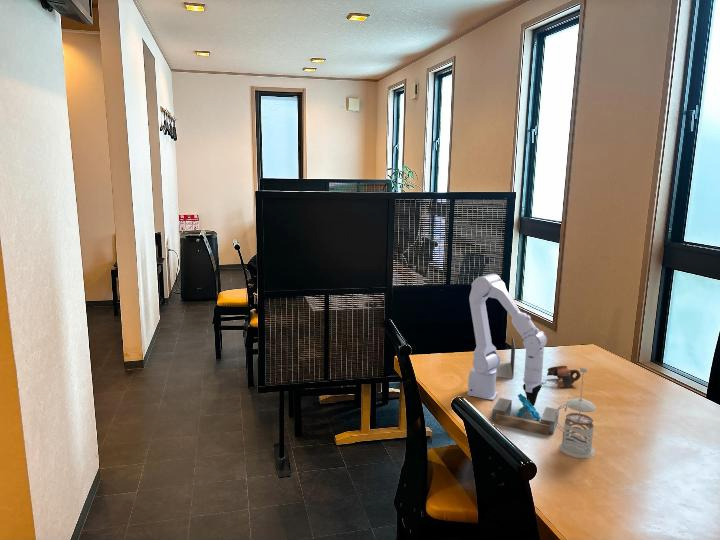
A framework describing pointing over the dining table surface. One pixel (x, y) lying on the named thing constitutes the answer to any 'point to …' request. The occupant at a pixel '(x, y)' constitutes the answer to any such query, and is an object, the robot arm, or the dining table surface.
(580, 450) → the french press
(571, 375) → the pottery mug
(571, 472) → the dining table surface
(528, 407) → the blue knobby piece
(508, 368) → the laptop
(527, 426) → the cradle
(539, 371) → the robot arm
